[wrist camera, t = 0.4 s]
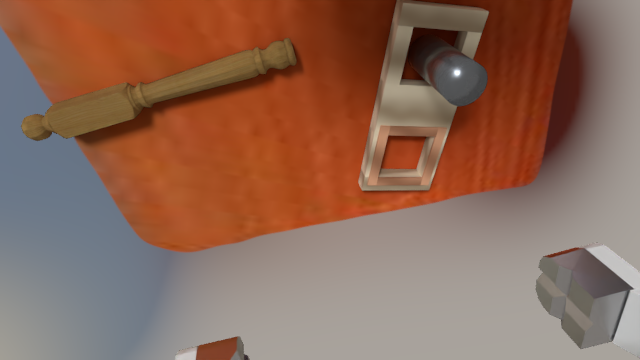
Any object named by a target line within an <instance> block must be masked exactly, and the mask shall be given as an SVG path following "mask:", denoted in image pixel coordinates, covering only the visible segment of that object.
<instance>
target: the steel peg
mask: <svg viewBox="0 0 640 360" xmlns="http://www.w3.org/2000/svg"><path fill="white" fill-rule="evenodd" d="M408 61H409V64H410V66H411V67H412V68H413V69H414V70H415V71H416V72H417V73H418V74H419V75H421V76H422V77H423V78H424V79H425V80H426V81H427V82H428V83H429V84H430V85H431V86H432V87H433V88H434V89H435V90H436V91H438V92H439V93H440V94H441V95H442V96H443V97H444V98H445V99H446V100H447V101H448V102H449V103H451V104H452V105H455V106H464V105H468V104H470V103H472V102H474V101H475V100H476V99H478V98H479V97H480V95H481V94H482V93H483V91H484V89H485V87H486V84H487V72H486V70H485V69H484V67H483V66H481V65H480V64H478V63H477V62H475V61H474V60H472V59H471V58H469V57H468V56H466V55H465V54H463V53H462V52H460V51H459V50H457V49H456V48H454V47H453V46H451V45H450V44H448V43H447V42H445V41H444V40H442V39H441V38H439V37H438V36H436V35H433V34H426V35H423V36H421V37H419V38H418V39H416V40H415V41H414V43H413V44H412V45H411V47H410V49H409V53H408Z"/></svg>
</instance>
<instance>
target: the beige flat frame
mask: <svg viewBox="0 0 640 360" xmlns="http://www.w3.org/2000/svg"><path fill="white" fill-rule="evenodd" d="M488 14H489V11H487V10H485V9H482V8H479V7H470V6H460V5H450V4H440V3H431V2H421V1H411V0H397V1H396V6H395V11H394V15H393V20H392V25H391V29H390V34H389V39H388V44H387V48H386V53H385V58H384V63H383V67H382V72H381V77H380V82H379V86H378V91H377V96H376V101H375V105H374V110H373V115H372V120H371V124H370V129H369V134H368V138H367V143H366V148H365V153H364V157H363V162H362V167H361V172H360V176H359V181H358V183H359V185H360V187H361V189H362V190H429V188H430V185H431V183H432V180H433V177H434V174H435V171H436V168H437V165H438V162H439V159H440V156H441V153H442V150H443V147H444V144H445V141H446V138H447V135H448V132H449V129H450V126H451V123H452V120H453V117H454V114H455V111H456V109H457V106H455V105H452V104H451V103H449V102H448V101H447V100H446V99H445V98H444V97H443V96H442V95H441V94H440V93H439V92H438V91H436V90H435V89H434V88H433V87H432V86H431V85H430V84H429V83H428V82H427V81H426V80H410V79H401V77H402V73H403V68H404V64H405V60H406V56H407V52H408V48H409V44H410V39H411V35H412V31H413V27H421V28H432V29H443V30H455V31H458V34H457V38H456V41H455V44H454V48H456V49H457V50H459V51H460V52H462V53H463V54H465V55H466V56H468V57H469V58H471V59H472V60H473V58H474V55H475V52H476V49H477V46H478V43H479V40H480V37H481V35H482V32H483V29H484V26H485V23H486V20H487V17H488ZM388 135H393V136H426V139H425V143H424V146H423V149H422V152H421V156H420V159H419V162H418V166H417V169H380V168H381V163H382V159H383V155H384V151H385V147H386V143H387V139H388Z"/></svg>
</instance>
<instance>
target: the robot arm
mask: <svg viewBox="0 0 640 360" xmlns="http://www.w3.org/2000/svg"><path fill="white" fill-rule="evenodd" d="M539 268H540V270H542V272H543V273H542V274H541V275H540V276H539V278H538V279H537V281H536V292H537V295H538V299H539V300H540V302H541V304H542V305H543V307H544V308H545V309H546V311H547V312H548V313H549V314H550V315H553V316H555V317H557V318H559V319H561V325H562V329H563V330H564V331H565V332H566V333H567V334H568V335H569V336H570V338H571V339H572V340H573V341H574V342H575V343H576V344H577V346H578V347H579V348H580V349H583V348H587V347H591V346H595V345H599V344H603V343H608V342H612V341H613V344H615V345H617V346H619V347H620V348H622V349H624V350H626V351H628V352H630V353H631V354H633V355H635V356H637V357H639V358H640V272H639V271H638V270H636V269H635V268H634V267H632V266H631V265H630V264H628V263H627V262H626V261H625V260H623V259H622V258H621V257H619V256H618V255H617V254H616V253H614V252H613V251H612V250H610V249H609V248H608V247H606V246H605V245H603V244H601V243H598V242H596V243H592V244H589V245H585V246H581V247H578V248H573V249H569V250H565V251H561V252H558V253H554V254H551V255H547V256H543V258H542V259H541V260H540V263H539ZM175 360H250V359H249V357H248V356H247V355H245V354H244V345H243V342H242V340H241V338H240V337H234V338H230V339H225V340H221V341H216V342H212V343H208V344H204V345H199V346H196V347H192V348H187V349H184V350H179V352H178V353H177V356H176V358H175Z"/></svg>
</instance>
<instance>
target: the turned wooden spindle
mask: <svg viewBox="0 0 640 360" xmlns="http://www.w3.org/2000/svg"><path fill="white" fill-rule="evenodd" d="M296 63H297V61H296V57H295V53H294V50H293V46H292V43H291V40H290V39H289V38H285V39H284V41H275V42H272V43H271V44H270V45H269V46H268V48H266V49H264V50H261V49H259V48H258V47H256V48H254V49H253V50H252V51H251V50H245V51H242V52H239V53H236V54H233V55H230V56H227V57H224V58H222V59H219V60H216V61H213V62H210V63H207V64H204V65H201V66H198V67H195V68H192V69H189V70H186V71H184V72H181V73H178V74H175V75H172V76H169V77H166V78H163V79H160V80H157V81H154V82H151V83H148V84H144V83H142V82H140V83H138V84H137V86H136V88H135V87H134V86H132V85H130V84H128V83H126V82H125V83H122V84H118V85H115V86H112V87H108V88H105V89H101V90H98V91H95V92H91V93H88V94H85V95H81V96H78V97H74V98H71V99H68V100H64V101H61V102H58V103H55V104H54V105H52V106H51V107H50V108H49V109H48V110H47V113H46V114H45V116H42V115H40V114H34V115H30V116H27V117H25V118H24V120H23V122H22V125H21V127H22V131H23V133H24V134H25V135H26V136H27V137H29V138H31V139H33V140H36V141H39V140H43V139H46V138H48V137H50V135H51V134H52V132H54V133H56V134H59V135H61V136H62V137H64V138H66V139H67V138H70V137H74V136H77V135H80V134H84V133H87V132H91V131H94V130H97V129H101V128H104V127H107V126H111V125H114V124H117V123H121V122H124V121H127V120H131V119H134V118H135V117H136V116H137V115H138V114H139V113H140V112H141V110H142V109H143V106H144V107H148V108H151V107H152V106H153V104H154V103H156V102H160V101H164V100H168V99H172V98H176V97H180V96H184V95H187V94H191V93H195V92H199V91H203V90H207V89H211V88H215V87H219V86H222V85H226V84H230V83H234V82H238V81H242V80H246V79H250V78H254V77H256V76H258V75H259V73H260V74H266V72H267V70H268V69H269V68H276V69H284V68H286V67H288V66H289V65H292V66H294V65H296Z"/></svg>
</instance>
